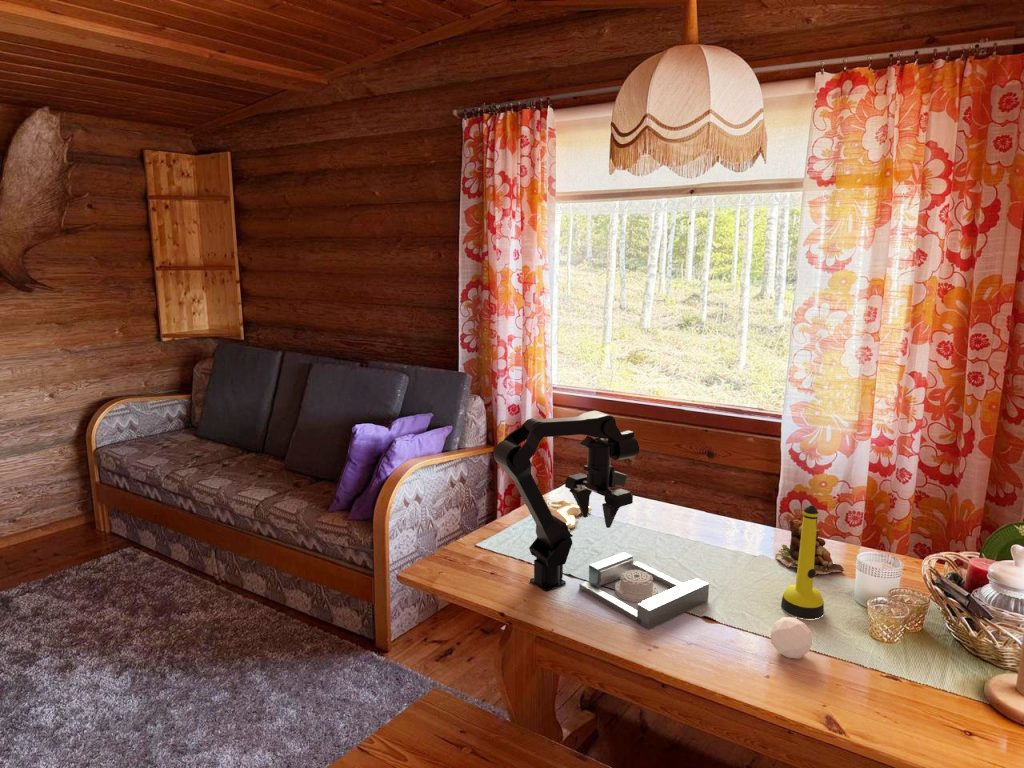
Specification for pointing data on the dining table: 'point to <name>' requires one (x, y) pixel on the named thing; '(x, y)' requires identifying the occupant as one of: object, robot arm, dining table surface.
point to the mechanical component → (636, 586)
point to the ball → (791, 637)
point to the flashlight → (805, 574)
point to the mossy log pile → (791, 555)
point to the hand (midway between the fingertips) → (596, 522)
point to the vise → (656, 599)
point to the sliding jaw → (610, 569)
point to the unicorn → (566, 512)
